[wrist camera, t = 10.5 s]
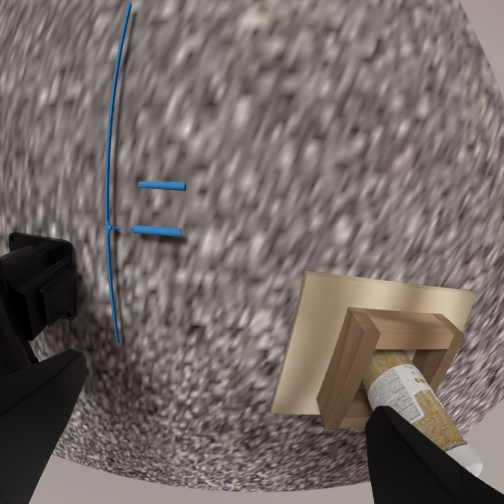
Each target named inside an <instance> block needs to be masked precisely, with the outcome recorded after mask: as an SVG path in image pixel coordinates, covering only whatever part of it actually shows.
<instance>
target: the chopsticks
mask: <svg viewBox="0 0 504 504" xmlns="http://www.w3.org/2000/svg"><path fill="white" fill-rule="evenodd" d="M131 6H132V4H131V2H130V3H128V7H127V11H126V15H125V19H124V24H123V28H122V33H121V38H120V43H119V48H118V53H117V59H116V65H115V72H114V78H113V85H112V93H111V101H110V111H109V121H108V133H107V148H106V169H105V230H106V252H107V267H108V280H109V290H110V300H111V308H112V316H113V324H114V331H115V338H116V344H119V343H120V341H119V335H118V327H117V320H116V312H115V303H114V293H113V282H112V270H111V254H110V234H111V231H110V230H112V229H115V227H113V226H112V225H110V221H109V172H110V149H111V134H112V122H113V112H114V102H115V94H116V86H117V79H118V72H119V66H120V60H121V54H122V48H123V43H124V38H125V33H126V28H127V23H128V19H129V15H130V10H131ZM139 188H154V189H171V190H185V189H184V188H185V183H179V182H139ZM119 229H129V228H119ZM131 230H133V233H139V234H152V235H164V236H177V237H180V235H181V229H176V228H163V227H149V226H135V225H134V226H133V228H131Z"/></svg>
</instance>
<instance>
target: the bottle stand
mask: <svg viewBox="0 0 504 504" xmlns="http://www.w3.org/2000/svg"><path fill="white" fill-rule="evenodd" d="M476 295H477V294H475V293H474V292H472V291H467V290H459V289H450V288H442V287H433V286H425V285H417V284H409V283H400V282H392V281H384V280H376V279H368V278H360V277H352V276H345V275H337V274H329V273H321V272H314V271H306V270H305V272H304V277H303V281H302V285H301V290H300V294H299V298H298V303H297V307H296V311H295V315H294V319H293V323H292V328H291V332H290V336H289V339H288V343H287V347H286V351H285V355H284V359H283V363H282V366H281V370H280V374H279V377H278V381H277V385H276V388H275V392H274V395H273V399H272V403H271V406H270V409H271V413H278V414H318V415H321V419H322V423H323V426H324V429H336V428H356V427H365V425H366V422H367V420H368V419H369V417H370V416H371V414H372V413H373V409H372V407H371V405H370V402H369V400H368V396H367V394H366V391H365V389H364V387H363V385H362V382H361V381H362V379H363V376H364V374H365V372H366V369H367V367H368V365H369V362H370V360H371V358H372V355H373V353H374V350H375V349H399V350H405V352H406V354H407V356H408V357H409V358H410V360H411V361H412V362H413V364H414V365H415V367H416V368H417V369H418V370H419V371H420V373H421V374H422V375H423V377H424V378H425V380H426V381H427V383H428V384H429V386H430V387H431V388H432V390H433V391H434V393H435V392H436V390H437V388H438V387H439V385H440V383H441V381H442V379H443V378H444V376H445V374H446V372H447V370H448V368H449V366H450V364H451V362H452V360H453V358H454V356H455V354H456V352H457V350H458V348H459V346H460V344H461V342H462V339H463V337H464V334H463V333H462V330H463V328H464V325H465V323H466V321H467V318H468V316H469V313H470V311H471V308H472V306H473V303H474V300H475V298H476Z"/></svg>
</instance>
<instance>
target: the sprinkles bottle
mask: <svg viewBox="0 0 504 504" xmlns="http://www.w3.org/2000/svg"><path fill="white" fill-rule="evenodd" d="M361 382H362V385H363V387H364V389H365V391H366V394H367V396H368V400H369V402H370V405H371V407H372V409H373V411H374V409H375V408H376V407H377V406H379V405H388V406H390V407H392V408H393V409H394V410H395V411H396V412H398V413H399V414H400V415H401V416H402V417H404V418H405V419H406V420H407V421H408V422H410V423H411V424H412V425H413V426H414V427H416V428H417V429H418V430H419V431H420V432H422V433H423V434H424V435H425V436H426V437H428V438H429V439H430V440H431V441H432V442H434V443H435V444H436V445H437V446H439V447H440V448H441V449H442V450H443V451H445V452H446V453H447V454H448V455H450V456H451V457H452V458H453V459H454V460H456V461H457V462H458V463H459V464H460V465H462V466H463V467H464V468H466V469H467V470H468V471H469V472H471V473H472V474H473V475H475V476H476V477H477V476H478V475H479V474H480V472H481V470H482V467H483V465H482V462H481V460H480V459H479V457H478V455H477V453H476V452H475V450H474V449H473V447H472V446H471V445H467V442H466V441H464V440H463V438H462V436H461V434H460V433H459V431H458V430H457V428H456V427H455V425H454V423H453V421H452V420H451V419H450V417H449V415H448V414H447V413H446V410H445V408H444V407H443V405H442V404H441V402H440V401H439V399H438V397H437V396H436V394H435V393H434V391H433V390H432V388H431V387H430V386H429V384H428V383H427V381H426V380H425V378H424V377H423V375H422V374H421V373H420V371H419V370H418V369H417V368H416V367H415V365H414V364H413V362H412V361H411V360H410V358H409V357H408V356H407V354H406V352H405V350H399V349H375V350H374V353H373V355H372V358H371V360H370V362H369V365H368V367H367V369H366V372H365V374H364V376H363V379H362V381H361Z"/></svg>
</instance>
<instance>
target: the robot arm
mask: <svg viewBox="0 0 504 504" xmlns="http://www.w3.org/2000/svg"><path fill="white" fill-rule="evenodd" d="M14 238H15V240H14ZM64 246H65V247H66V250H65V249H64ZM9 248H10V252H9V253H7V254H5V255H3V256H1V257H0V504H29V502H30V499H31V497H32V495H33V493H34V490H35V488H36V486H37V484H38V482H39V479H40V477H41V475H42V473H43V471H44V469H45V467H46V464H47V463H48V460H49V458H50V456H51V454H52V452H53V450H54V448H55V446H56V444H57V442H58V440H59V438H60V436H61V434H62V433H63V431H64V429H65V427H66V425H67V423H68V421H69V419H70V417H71V414H72V412H73V409H74V406H75V404H76V401H77V399H78V396H79V394H80V391H81V389H82V386H83V384H84V381H85V379H86V368H85V360H84V355H83V353H82V352H79V351H77V350H74V349H69V350H66V351H64V352H62V353H59V354H57V355H55V356H52V357H50V358H48V359H45V360H43V361H41V362H39V361H38V359H37V357H35V355H34V353H33V351H32V348H31V346H30V344H29V341H28V340H30V341H33V340H34V339H35V338H36V337H37V336H38V335H39V334H40V333H41V332H42V331H43V330H44V329H45V327H46V326H47V327H51V326H52V325H53V324H54V323H55V322H56V321H57V320H58V319H59V317H60V318H64V319H68V320H73V319H74V318H75V317H76V306H75V301H76V294H75V282H74V272H73V269H72V247H71V244H70V243H69V242H68V241H66V240H61V239H54V238H48V237H42V236H36V235H30V234H24V233H18V232H13V233H11V234H10V235H9ZM69 312H70V313H71V315H70V314H69ZM365 434H366V446H367V460H368V469H369V475H370V481H371V486H372V492H373V498H374V504H504V494H502V493H500V492H499V491H497V490H495V489H494V488H492V487H491V486H489V485H488V484H486V483H485V482H483V481H482V480H480V479H479V478H477V477H476V476H475V475H473V474H472V473H471V472H469V471H468V470H467V469H466V468H464V467H463V466H462V465H460V464H459V463H458V462H457V461H456V460H454V459H453V458H452V457H451V456H450V455H448V454H447V453H446V452H445V451H443V450H442V449H441V448H440V447H439V446H437V445H436V444H435V443H434V442H432V441H431V440H430V439H429V438H428V437H426V436H425V435H424V434H423V433H422V432H420V431H419V430H418V429H417V428H416V427H414V426H413V425H412V424H411V423H410V422H408V421H407V420H406V419H405V418H404V417H402V416H401V415H400V414H399V413H398V412H396V411H395V410H394V409H393V408H392V407H390V406H388V405H379V406H377V407H376V408H375V409H374V411H373V413H372V414H371V416H370V417H369V419H368V420H367V422H366V425H365Z"/></svg>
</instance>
